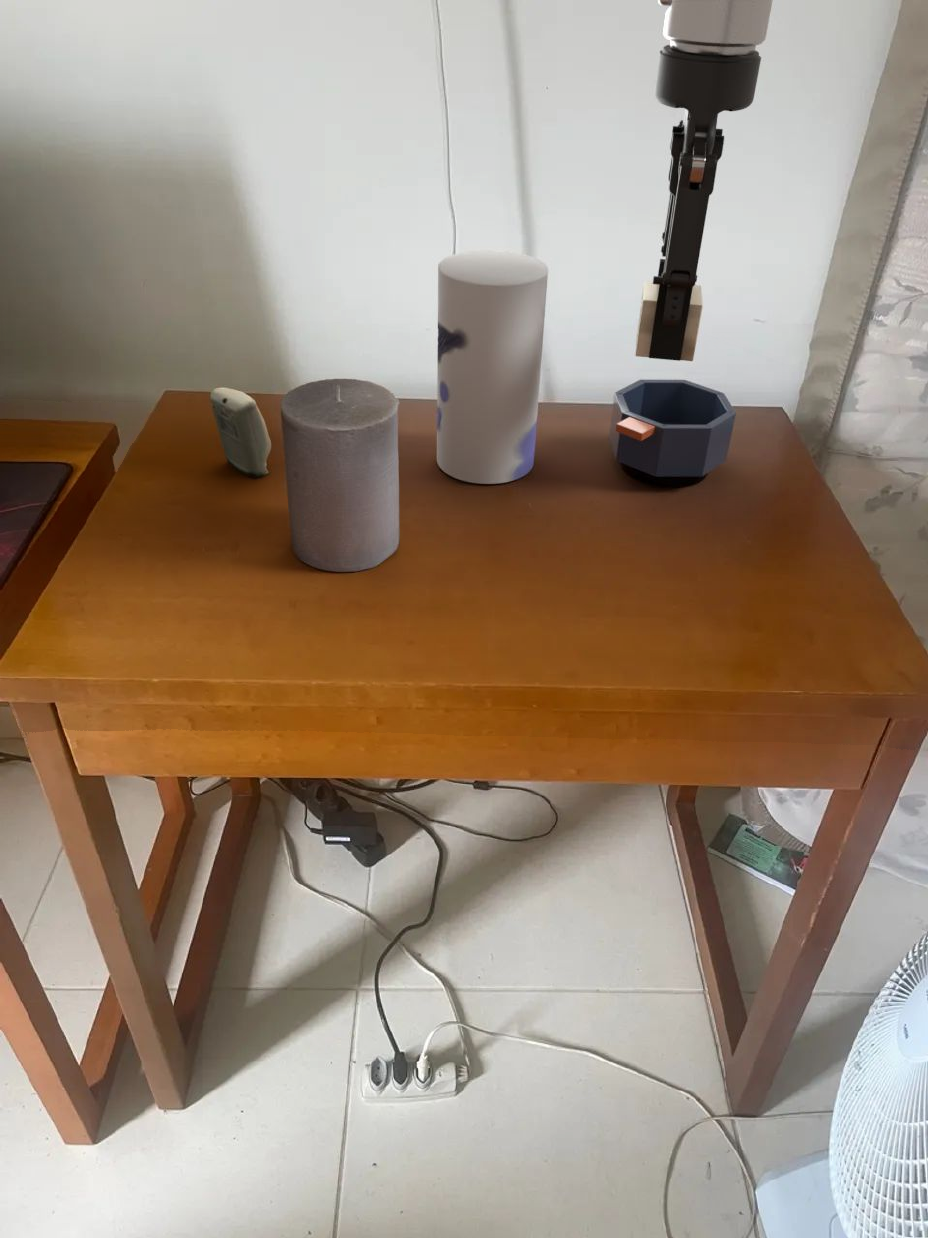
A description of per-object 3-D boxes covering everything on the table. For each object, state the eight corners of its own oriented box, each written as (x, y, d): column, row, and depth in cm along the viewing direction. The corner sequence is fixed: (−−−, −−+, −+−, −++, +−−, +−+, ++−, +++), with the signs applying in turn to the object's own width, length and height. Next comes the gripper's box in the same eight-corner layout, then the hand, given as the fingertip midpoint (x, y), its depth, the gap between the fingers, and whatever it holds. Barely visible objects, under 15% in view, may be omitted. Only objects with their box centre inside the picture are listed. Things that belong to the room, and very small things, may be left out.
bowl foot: (725, 470, 101) (728, 457, 100) (668, 497, 96) (670, 484, 95) (659, 438, 106) (661, 425, 105) (601, 462, 102) (603, 449, 101)
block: (691, 340, 89) (701, 285, 86) (692, 361, 85) (703, 304, 82) (636, 335, 90) (644, 280, 87) (635, 356, 86) (643, 299, 83)
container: (421, 449, 103) (421, 254, 91) (506, 433, 106) (516, 243, 94) (461, 493, 96) (466, 288, 84) (551, 474, 99) (568, 275, 87)
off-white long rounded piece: (207, 475, 97) (196, 400, 93) (228, 451, 102) (218, 378, 97) (262, 482, 97) (253, 407, 92) (280, 458, 101) (273, 385, 96)
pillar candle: (286, 521, 91) (271, 367, 82) (390, 510, 93) (386, 358, 84) (298, 580, 83) (283, 418, 74) (411, 566, 86) (409, 407, 76)
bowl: (650, 415, 106) (657, 370, 103) (742, 449, 101) (753, 402, 97) (576, 457, 98) (581, 409, 95) (671, 497, 93) (680, 447, 89)
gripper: (661, 27, 81) (625, 306, 95) (660, 61, 67) (618, 382, 81) (754, 32, 80) (704, 312, 94) (773, 67, 66) (710, 391, 80)
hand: (664, 344), depth 88 cm, fingers closed on block, 5 cm apart
